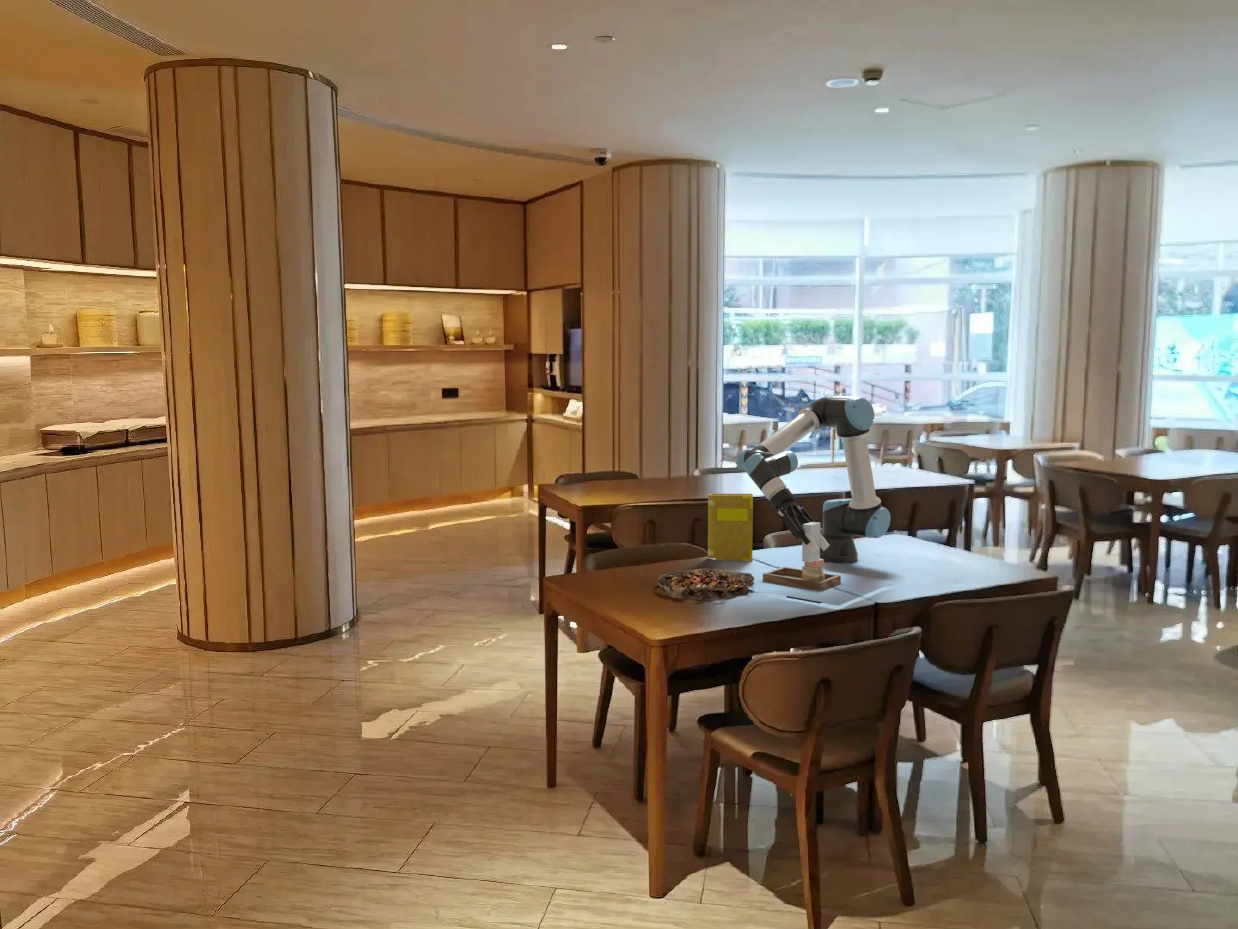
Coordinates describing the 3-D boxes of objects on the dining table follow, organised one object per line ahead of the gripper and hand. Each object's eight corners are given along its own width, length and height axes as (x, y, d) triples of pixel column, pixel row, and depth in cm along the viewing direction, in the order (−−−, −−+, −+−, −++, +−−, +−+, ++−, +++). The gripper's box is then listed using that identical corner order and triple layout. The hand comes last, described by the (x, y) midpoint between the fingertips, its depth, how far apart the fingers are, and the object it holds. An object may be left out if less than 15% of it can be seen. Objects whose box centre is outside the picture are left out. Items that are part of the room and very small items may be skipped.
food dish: (697, 610, 300) (696, 586, 299) (636, 591, 327) (635, 568, 326) (780, 591, 319) (779, 568, 318) (716, 574, 347) (715, 553, 346)
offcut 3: (809, 580, 327) (809, 572, 327) (824, 583, 324) (824, 574, 323) (801, 583, 324) (801, 574, 323) (817, 586, 320) (817, 577, 319)
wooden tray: (784, 576, 339) (784, 566, 339) (840, 586, 325) (840, 575, 324) (762, 583, 329) (762, 573, 328) (819, 593, 314) (820, 583, 314)
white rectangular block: (811, 558, 312) (812, 521, 311) (819, 559, 310) (820, 522, 309) (802, 561, 307) (802, 524, 306) (810, 562, 305) (811, 525, 304)
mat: (805, 590, 319) (805, 588, 319) (837, 596, 311) (838, 594, 311) (786, 597, 310) (786, 595, 310) (819, 603, 302) (819, 601, 302)
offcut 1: (812, 564, 326) (812, 557, 326) (823, 566, 322) (823, 559, 322) (804, 565, 324) (804, 558, 323) (816, 568, 320) (816, 561, 320)
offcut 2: (807, 572, 327) (807, 564, 326) (822, 574, 324) (822, 565, 323) (802, 575, 323) (802, 566, 323) (817, 577, 320) (818, 568, 320)
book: (751, 557, 372) (752, 493, 369) (752, 561, 366) (752, 496, 363) (707, 556, 374) (708, 493, 371) (707, 560, 367) (708, 495, 364)
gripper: (786, 498, 324) (828, 552, 315) (755, 504, 310) (798, 561, 301) (800, 484, 320) (843, 538, 311) (769, 490, 306) (814, 547, 297)
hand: (821, 549), depth 306 cm, fingers closed on white rectangular block, 6 cm apart
